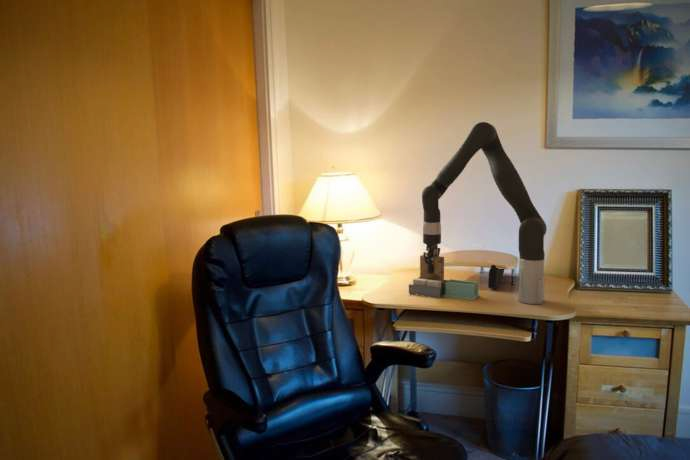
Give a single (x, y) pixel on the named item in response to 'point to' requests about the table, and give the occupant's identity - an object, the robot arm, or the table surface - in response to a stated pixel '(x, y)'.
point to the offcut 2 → (433, 283)
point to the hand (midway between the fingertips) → (432, 272)
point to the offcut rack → (429, 290)
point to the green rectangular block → (462, 289)
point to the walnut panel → (438, 269)
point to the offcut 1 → (419, 281)
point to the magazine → (494, 276)
